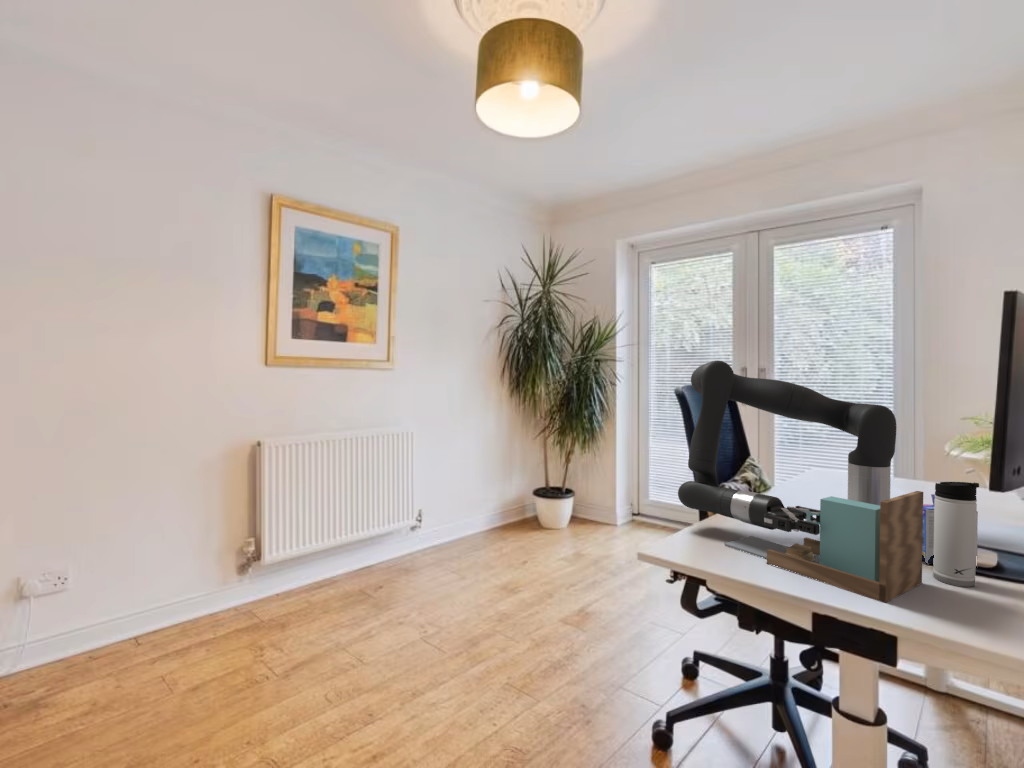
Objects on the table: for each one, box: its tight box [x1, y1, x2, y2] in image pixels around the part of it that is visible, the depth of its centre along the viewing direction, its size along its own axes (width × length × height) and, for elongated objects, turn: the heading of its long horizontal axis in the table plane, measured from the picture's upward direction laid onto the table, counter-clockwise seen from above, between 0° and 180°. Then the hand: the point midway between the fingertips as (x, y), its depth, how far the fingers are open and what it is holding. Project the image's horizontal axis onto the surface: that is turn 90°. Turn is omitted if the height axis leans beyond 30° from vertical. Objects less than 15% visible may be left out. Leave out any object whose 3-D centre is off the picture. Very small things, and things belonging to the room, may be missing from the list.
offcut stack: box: [785, 543, 815, 562], centre depth 110 cm, size 6×4×3 cm, turn 129°
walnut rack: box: [766, 490, 924, 603], centre depth 103 cm, size 16×22×18 cm
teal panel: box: [819, 496, 880, 582], centre depth 101 cm, size 5×10×15 cm, turn 32°
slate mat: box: [724, 535, 789, 560], centre depth 117 cm, size 11×12×1 cm
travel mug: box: [932, 481, 980, 588], centre depth 99 cm, size 6×7×20 cm
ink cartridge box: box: [922, 493, 979, 563], centre depth 109 cm, size 10×6×14 cm, turn 78°
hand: (829, 526), depth 105 cm, fingers open, 8 cm apart
